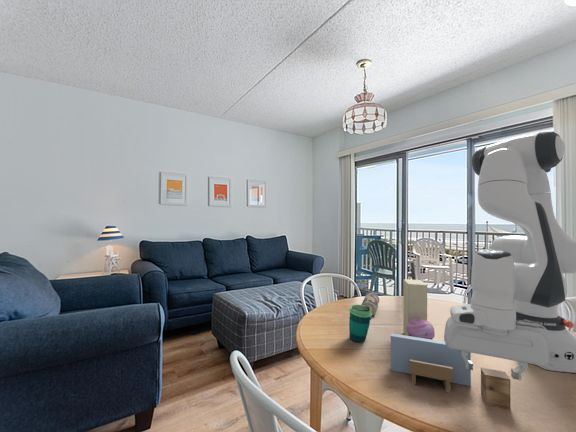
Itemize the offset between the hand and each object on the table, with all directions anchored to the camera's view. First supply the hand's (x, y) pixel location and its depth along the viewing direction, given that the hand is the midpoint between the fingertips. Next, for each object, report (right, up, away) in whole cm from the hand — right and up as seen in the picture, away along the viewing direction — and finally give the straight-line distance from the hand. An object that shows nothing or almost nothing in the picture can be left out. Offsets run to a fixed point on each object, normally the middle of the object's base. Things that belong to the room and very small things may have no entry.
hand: (491, 373), depth 65 cm
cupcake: (-4, -8, +27) cm, 28 cm away
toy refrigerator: (-1, -8, +36) cm, 36 cm away
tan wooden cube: (+1, -7, 0) cm, 7 cm away
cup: (-23, -8, +34) cm, 42 cm away
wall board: (-11, -7, +8) cm, 15 cm away
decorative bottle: (-11, -8, +65) cm, 66 cm away
